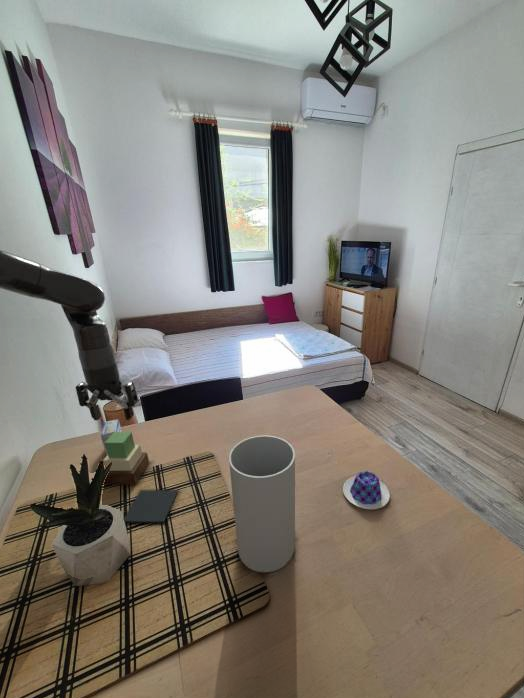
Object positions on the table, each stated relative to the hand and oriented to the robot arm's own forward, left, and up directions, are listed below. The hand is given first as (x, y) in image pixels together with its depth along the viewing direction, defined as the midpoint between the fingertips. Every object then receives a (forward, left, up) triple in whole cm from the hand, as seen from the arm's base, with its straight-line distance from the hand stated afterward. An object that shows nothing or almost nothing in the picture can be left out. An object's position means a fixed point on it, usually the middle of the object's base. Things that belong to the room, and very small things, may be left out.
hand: (113, 418), depth 86 cm
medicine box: (-9, +11, -19) cm, 23 cm away
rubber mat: (+12, -12, -18) cm, 25 cm away
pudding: (+67, -7, -19) cm, 70 cm away
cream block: (0, 0, -14) cm, 14 cm away
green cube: (0, 0, -11) cm, 11 cm away
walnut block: (0, 0, -18) cm, 18 cm away
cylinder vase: (+42, -23, -19) cm, 51 cm away
